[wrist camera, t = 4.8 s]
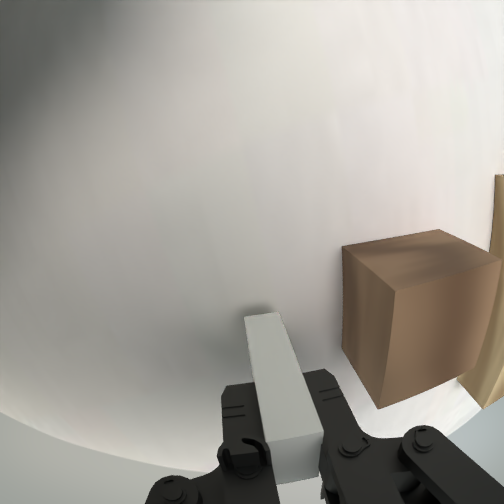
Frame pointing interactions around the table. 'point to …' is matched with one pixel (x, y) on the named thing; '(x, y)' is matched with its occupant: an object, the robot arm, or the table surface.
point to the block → (415, 311)
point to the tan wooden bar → (491, 324)
